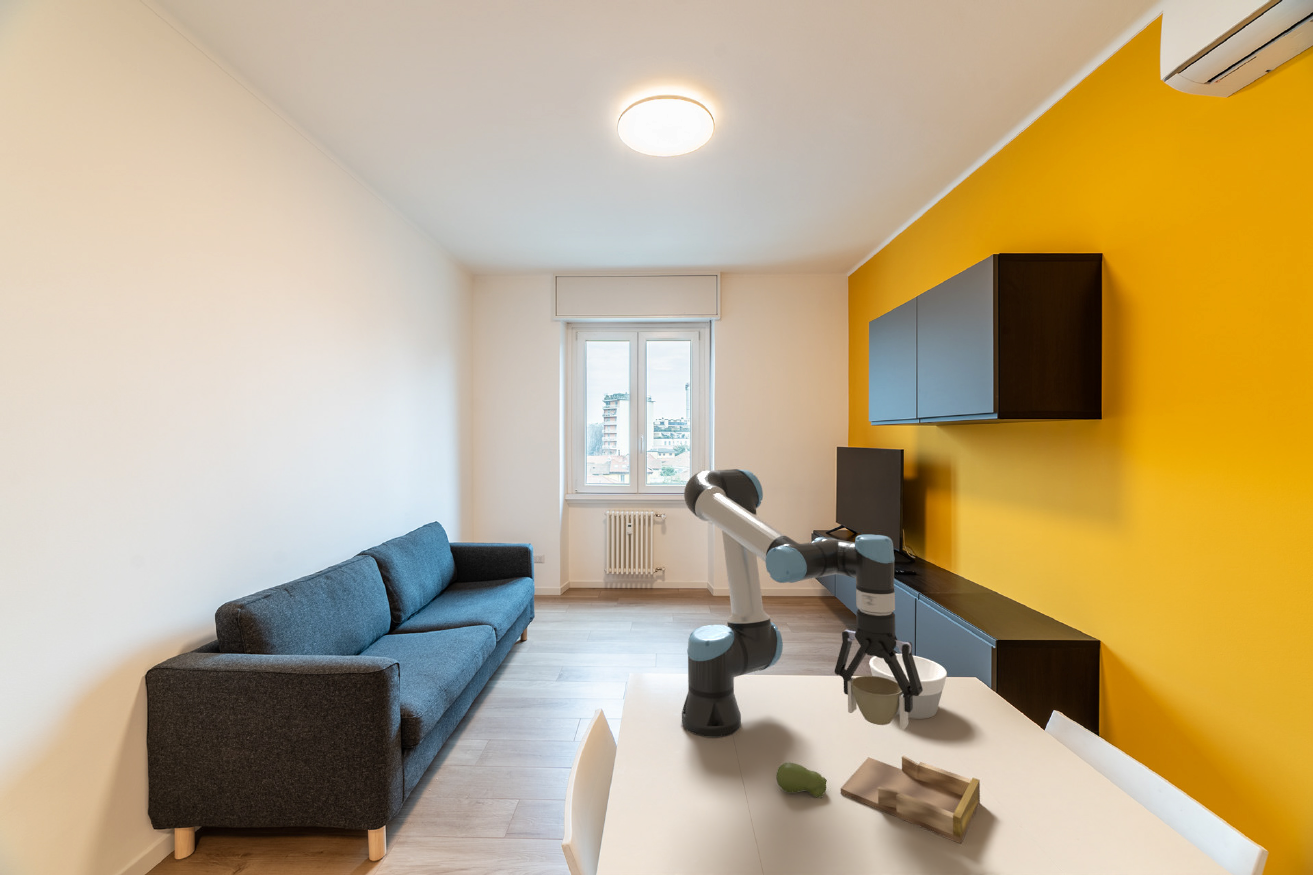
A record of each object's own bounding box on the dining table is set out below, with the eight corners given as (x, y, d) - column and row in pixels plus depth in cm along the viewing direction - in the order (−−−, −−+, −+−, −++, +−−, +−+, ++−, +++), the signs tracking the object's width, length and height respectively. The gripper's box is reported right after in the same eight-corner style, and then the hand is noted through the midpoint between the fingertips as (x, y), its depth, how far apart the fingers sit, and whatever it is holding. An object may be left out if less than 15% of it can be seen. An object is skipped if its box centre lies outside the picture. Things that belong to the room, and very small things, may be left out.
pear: (777, 754, 118) (826, 765, 117) (773, 779, 118) (821, 790, 117) (779, 769, 113) (830, 781, 111) (775, 795, 113) (826, 807, 111)
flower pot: (909, 733, 110) (908, 696, 110) (855, 728, 112) (854, 692, 112) (898, 710, 120) (897, 676, 120) (849, 706, 122) (848, 673, 122)
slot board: (840, 793, 114) (840, 771, 114) (868, 761, 125) (868, 741, 125) (960, 843, 99) (960, 818, 99) (980, 802, 111) (979, 779, 111)
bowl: (962, 723, 142) (961, 681, 142) (886, 723, 142) (885, 681, 142) (926, 690, 161) (926, 653, 161) (859, 690, 161) (859, 653, 161)
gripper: (816, 604, 121) (818, 708, 121) (927, 625, 106) (930, 743, 106) (831, 597, 127) (833, 696, 126) (939, 616, 112) (941, 728, 112)
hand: (877, 718), depth 116 cm, fingers closed on flower pot, 10 cm apart
